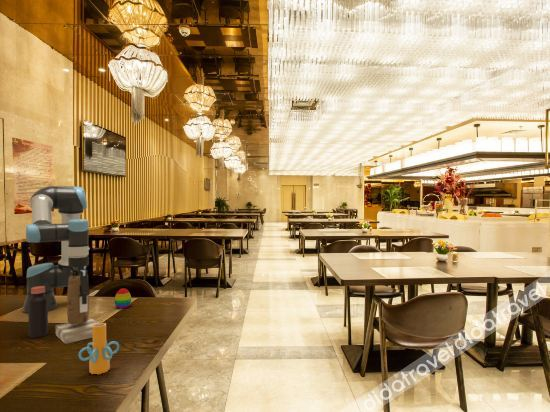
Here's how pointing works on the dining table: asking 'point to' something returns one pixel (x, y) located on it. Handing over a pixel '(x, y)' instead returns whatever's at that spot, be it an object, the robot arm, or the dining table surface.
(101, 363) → the orange vase with handles
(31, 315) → the bottle
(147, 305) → the dining table surface
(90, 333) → the platform
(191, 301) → the dining table surface
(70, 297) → the brown river rock
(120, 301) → the decorative egg
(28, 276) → the robot arm
